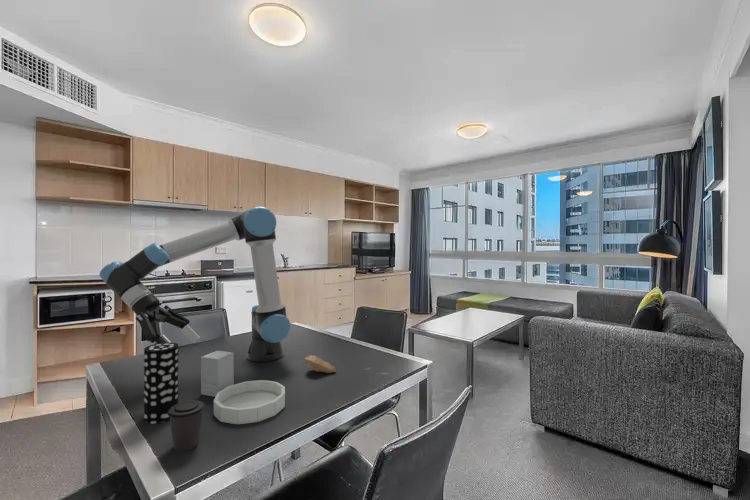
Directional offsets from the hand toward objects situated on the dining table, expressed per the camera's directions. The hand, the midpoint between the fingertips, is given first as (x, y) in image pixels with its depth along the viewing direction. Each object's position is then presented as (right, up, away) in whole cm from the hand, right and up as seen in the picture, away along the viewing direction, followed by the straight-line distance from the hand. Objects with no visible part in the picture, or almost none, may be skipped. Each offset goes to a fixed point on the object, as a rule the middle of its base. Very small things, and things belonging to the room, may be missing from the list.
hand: (186, 346), depth 113 cm
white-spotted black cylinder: (+2, -16, -16) cm, 22 cm away
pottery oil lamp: (+42, -16, +18) cm, 48 cm away
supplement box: (+10, -16, 0) cm, 19 cm away
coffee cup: (+17, -16, -30) cm, 38 cm away
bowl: (+25, -16, -10) cm, 31 cm away
